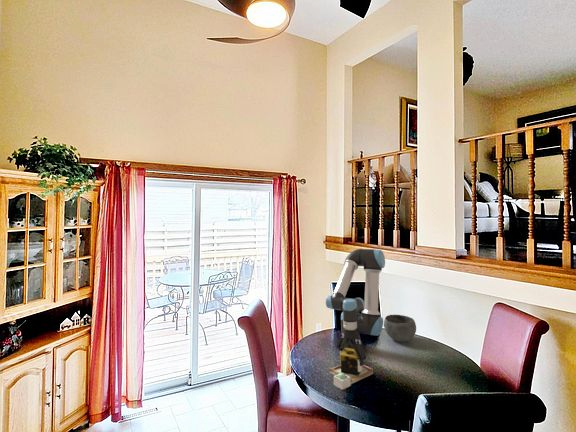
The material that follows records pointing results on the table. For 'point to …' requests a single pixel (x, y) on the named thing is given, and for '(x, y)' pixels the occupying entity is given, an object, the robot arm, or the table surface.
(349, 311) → the robot arm
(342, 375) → the button
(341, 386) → the button housing
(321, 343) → the table surface
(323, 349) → the table surface
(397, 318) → the bowl
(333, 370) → the beige square tray
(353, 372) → the candle
